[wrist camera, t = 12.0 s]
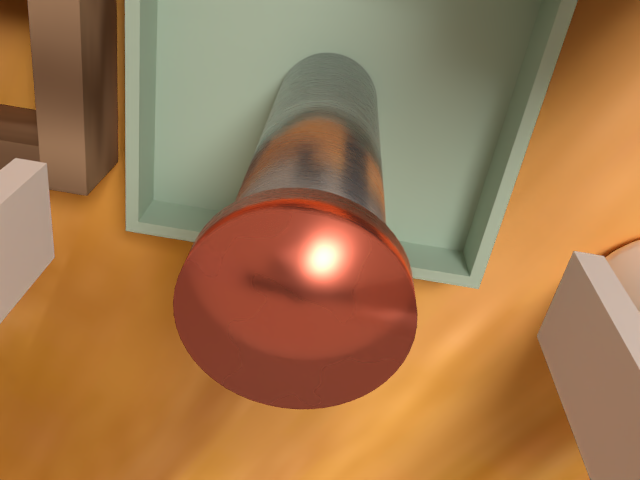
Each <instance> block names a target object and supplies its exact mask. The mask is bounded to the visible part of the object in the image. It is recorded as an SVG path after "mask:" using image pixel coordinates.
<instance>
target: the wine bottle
mask: <svg viewBox="0 0 640 480" xmlns="http://www.w3.org/2000/svg"><path fill="white" fill-rule="evenodd" d="M605 259H606V260H607V262H608V263H609V265H610V267H611V268H612V270H613V271H614V273H615V275H616V276H617V278H618V279H619V281H620V283H621V284H622V286H623V287H624V289H625V291H626V292H627V294H628V295H629V297H630V298H631V300H632V302H633V303H634V305H635V306H636V308H637V310H638V311H639V313H640V240H637V241H634V242H631V243H629V244H627V245H625V246H623V247H621V248H619V249H617V250H615V251H614V252H612V253H611V254H609V255H608V256H607V257H605Z"/></svg>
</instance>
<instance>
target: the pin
mask: <svg viewBox="0 0 640 480" xmlns="http://www.w3.org/2000/svg"><path fill="white" fill-rule="evenodd" d="M173 309H174V318H175V323H176V327H177V330H178V333H179V336H180V338H181V340H182V342H183V344H184V346H185V348H186V350H187V351H188V353H189V354H190V355H191V357H192V358H193V360H194V361H195V362H196V363H197V364H198V365H199V366H200V368H201V369H202V370H203V371H204V372H205V373H207V374H208V375H209V376H210V377H211V378H212V379H214V380H215V381H216V382H218V383H219V384H221V385H222V386H224V387H225V388H227V389H229V390H231V391H232V392H234V393H236V394H238V395H240V396H243V397H245V398H247V399H250V400H252V401H256V402H259V403H262V404H266V405H270V406H275V407H281V408H290V409H316V408H325V407H330V406H336V405H340V404H343V403H346V402H350V401H352V400H355V399H357V398H360V397H362V396H364V395H366V394H368V393H369V392H371V391H373V390H375V389H376V388H378V387H379V386H380V385H382V384H383V383H384V382H386V381H387V380H388V379H389V378H390V377H391V376H392V375H393V374H394V373H395V372H396V371H397V370H398V368H399V367H400V366H401V365H402V363H403V362H404V360H405V358H406V357H407V355H408V353H409V351H410V349H411V346H412V344H413V341H414V338H415V333H416V328H417V307H416V299H415V291H414V284H413V276H412V270H411V267H410V263H409V259H408V257H407V255H406V253H405V251H404V248H403V246H402V245H401V243H400V242H399V240H398V239H397V237H396V236H395V234H394V233H393V232H392V231H391V230H390V229H389V227H388V226H387V225H386V215H385V201H384V188H383V174H382V160H381V146H380V132H379V118H378V105H377V94H376V89H375V86H374V83H373V81H372V79H371V77H370V76H369V74H368V73H367V71H366V70H365V69H364V68H363V67H362V66H361V65H360V64H359V63H357V62H356V61H354V60H353V59H351V58H349V57H347V56H344V55H341V54H337V53H318V54H314V55H311V56H308V57H306V58H304V59H302V60H301V61H299V62H298V63H296V64H295V65H294V66H293V67H292V68H291V69H290V70H289V72H288V73H287V75H286V76H285V78H284V80H283V82H282V84H281V87H280V89H279V92H278V94H277V97H276V99H275V102H274V104H273V107H272V110H271V112H270V115H269V117H268V120H267V122H266V125H265V127H264V130H263V132H262V135H261V137H260V140H259V142H258V145H257V147H256V150H255V152H254V155H253V157H252V160H251V162H250V165H249V167H248V170H247V172H246V175H245V177H244V180H243V183H242V185H241V188H240V190H239V193H238V195H237V198H236V200H235V202H233V203H232V204H230V205H228V206H226V207H225V208H224V209H222V210H221V211H220V212H218V213H217V214H216V215H215V216H213V218H212V219H211V220H210V221H209V222H208V223H207V224H206V225H205V226H204V227H203V229H202V230H201V232H200V233H199V235H198V236H197V238H196V240H195V242H194V244H193V246H192V248H191V250H190V252H189V254H188V257H187V259H186V261H185V263H184V265H183V267H182V269H181V272H180V274H179V276H178V279H177V283H176V286H175V291H174V299H173Z"/></svg>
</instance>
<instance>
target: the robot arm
mask: <svg viewBox="0 0 640 480" xmlns="http://www.w3.org/2000/svg"><path fill="white" fill-rule="evenodd" d="M54 258H55V255H54V243H53V231H52V219H51V207H50V195H49V183H48V171H47V163H43V162H37V161H31V160H25V159H19V158H15V159H13V160H12V161H11V162H10V163H8V164H7V165H6V166H5V167H3V168H2V169H1V170H0V323H1V322H2V321H3V320H4V318H5V317H6V316H7V315H8V314H9V312H10V311H11V310H12V309H13V308H14V306H15V305H16V304H17V303H18V301H19V300H20V299H21V298H22V297H23V295H24V294H25V293H26V292H27V290H28V289H29V288H30V287H31V286H32V284H33V283H34V282H35V281H36V279H37V278H38V277H39V276H40V275H41V273H42V272H43V271H44V270H45V269H46V267H47V266H48V265H49V264H50V262H51V261H52V260H53V259H54ZM537 338H538V341H539V343H540V346H541V349H542V351H543V354H544V357H545V360H546V362H547V365H548V368H549V370H550V373H551V376H552V378H553V381H554V384H555V386H556V389H557V392H558V394H559V397H560V400H561V403H562V405H563V408H564V411H565V413H566V416H567V419H568V421H569V424H570V427H571V429H572V432H573V435H574V437H575V440H576V443H577V445H578V448H579V451H580V454H581V456H582V459H583V462H584V464H585V467H586V470H587V472H588V475H589V478H590V480H640V313H639V311H638V310H637V308H636V306H635V305H634V303H633V302H632V300H631V298H630V297H629V295H628V294H627V292H626V291H625V289H624V287H623V286H622V284H621V283H620V281H619V279H618V278H617V276H616V275H615V273H614V271H613V270H612V268H611V267H610V265H609V263H608V262H607V260H606V259H605V257H604V256H601V255H595V254H589V253H583V252H577V251H573V254H572V256H571V258H570V261H569V263H568V265H567V267H566V270H565V272H564V274H563V277H562V279H561V281H560V284H559V286H558V288H557V291H556V293H555V295H554V297H553V300H552V302H551V304H550V307H549V309H548V311H547V314H546V316H545V318H544V321H543V323H542V325H541V327H540V330H539V332H538V334H537Z"/></svg>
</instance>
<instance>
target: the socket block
mask: <svg viewBox="0 0 640 480" xmlns="http://www.w3.org/2000/svg"><path fill="white" fill-rule="evenodd" d="M27 1H28V14H29V27H30V39H31V52H32V65H33V78H34V90H35V103H36V110H32V109H26V108H20V107H14V106H8V105H2V104H0V170H1V169H2V168H3V167H5V166H6V165H7V164H8V163H10V162H11V161H12V160H13V159H15V158H19V159H25V160H31V161H37V162H43V163H47V171H48V183H49V190H55V191H61V192H67V193H73V194H79V195H85V196H87V195H88V194H89V193H90V192H91V191H92V190H93V189H94V187H95V186H96V185H97V184H98V183H99V182H100V181H101V180H102V179H103V178H104V177H105V175H106V174H107V173H108V172H109V171H110V170H111V169H112V168H113V167H114V166H115V165H116V163H117V162H118V111H117V15H116V0H27Z"/></svg>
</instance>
